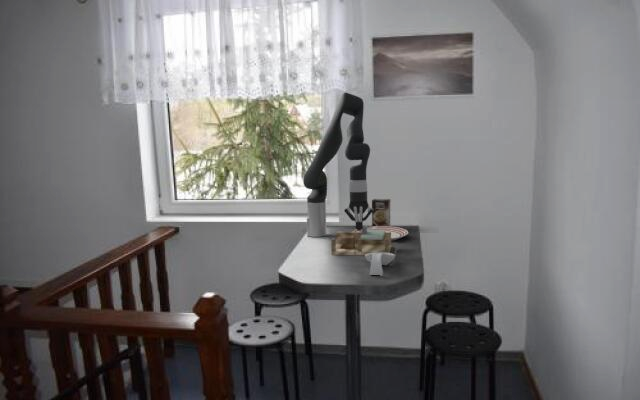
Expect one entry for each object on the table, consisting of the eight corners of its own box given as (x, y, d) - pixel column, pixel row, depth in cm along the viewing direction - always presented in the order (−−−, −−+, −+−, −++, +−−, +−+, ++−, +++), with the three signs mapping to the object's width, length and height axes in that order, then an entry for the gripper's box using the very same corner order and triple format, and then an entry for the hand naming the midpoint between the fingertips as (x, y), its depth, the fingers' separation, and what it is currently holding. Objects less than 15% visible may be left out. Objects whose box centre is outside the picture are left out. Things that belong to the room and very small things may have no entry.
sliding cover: (360, 239, 207) (360, 231, 206) (365, 231, 222) (364, 224, 222) (382, 239, 205) (382, 231, 204) (385, 231, 220) (385, 224, 220)
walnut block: (341, 251, 215) (341, 237, 214) (343, 248, 220) (343, 235, 219) (353, 251, 214) (353, 238, 213) (354, 249, 219) (354, 235, 218)
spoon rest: (366, 260, 203) (365, 242, 202) (395, 260, 201) (395, 243, 200) (360, 276, 180) (360, 257, 179) (393, 277, 177) (393, 258, 177)
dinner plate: (407, 244, 228) (407, 237, 227) (348, 243, 233) (348, 236, 233) (409, 232, 254) (408, 226, 254) (355, 232, 260) (355, 225, 259)
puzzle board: (331, 255, 210) (331, 239, 209) (338, 247, 226) (337, 231, 225) (388, 257, 205) (388, 240, 204) (391, 247, 221) (391, 232, 220)
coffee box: (371, 230, 261) (371, 200, 259) (374, 228, 268) (373, 198, 265) (388, 231, 259) (388, 200, 257) (390, 228, 265) (390, 198, 263)
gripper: (374, 189, 214) (375, 228, 217) (344, 189, 217) (345, 228, 219) (372, 191, 207) (373, 232, 209) (341, 191, 210) (342, 231, 212)
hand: (359, 230), depth 214 cm, fingers closed
